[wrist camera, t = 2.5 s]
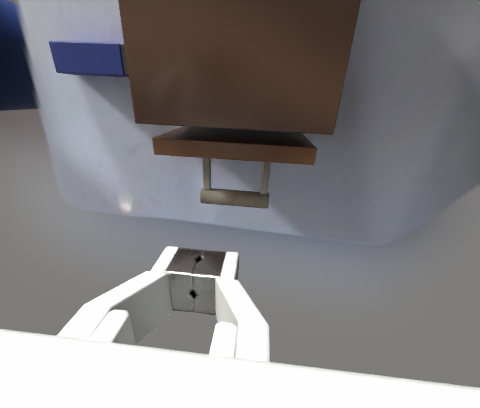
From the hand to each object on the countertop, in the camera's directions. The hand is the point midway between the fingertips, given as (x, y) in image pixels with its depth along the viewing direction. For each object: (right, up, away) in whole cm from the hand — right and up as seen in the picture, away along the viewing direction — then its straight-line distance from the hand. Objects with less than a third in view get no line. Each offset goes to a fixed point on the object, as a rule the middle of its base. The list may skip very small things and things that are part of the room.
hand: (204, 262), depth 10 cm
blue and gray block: (-11, +16, +13) cm, 23 cm away
